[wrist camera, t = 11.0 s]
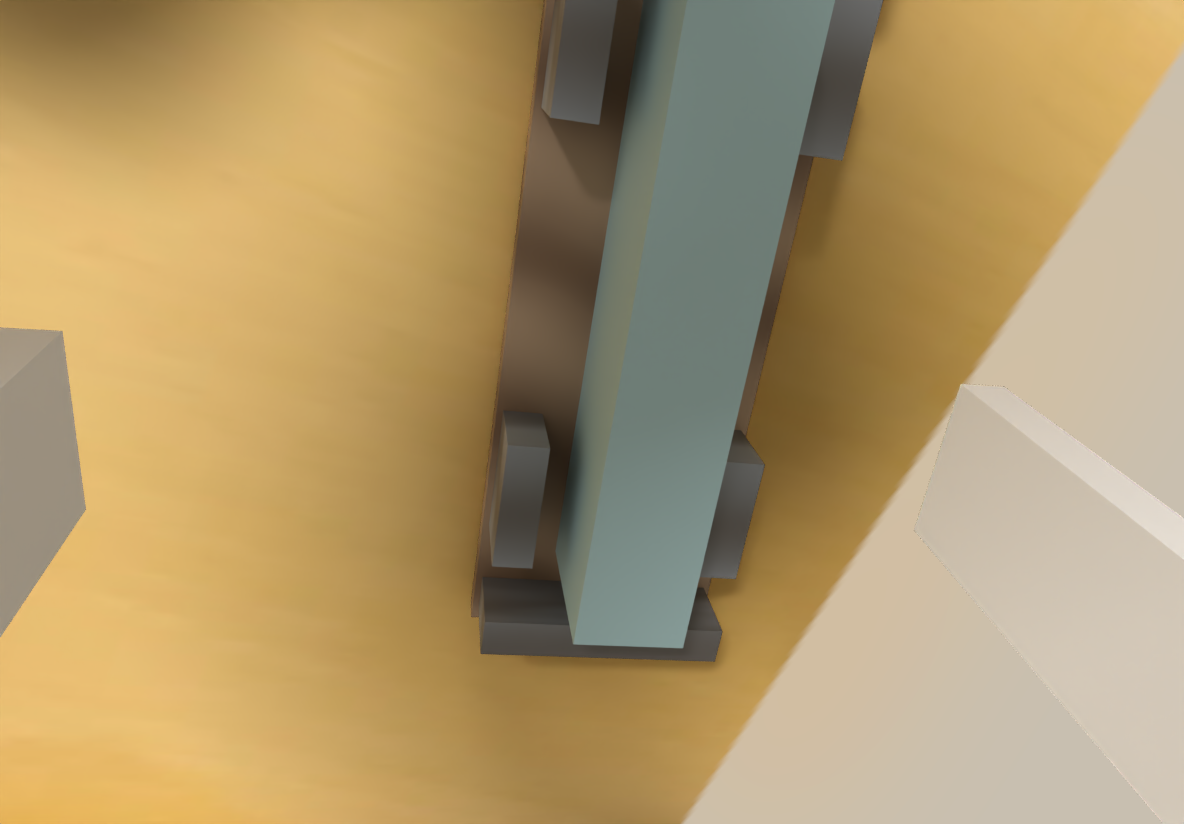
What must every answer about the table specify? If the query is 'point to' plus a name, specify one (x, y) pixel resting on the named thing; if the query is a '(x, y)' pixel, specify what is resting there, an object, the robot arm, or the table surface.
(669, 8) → the rail
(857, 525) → the table surface
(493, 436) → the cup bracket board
